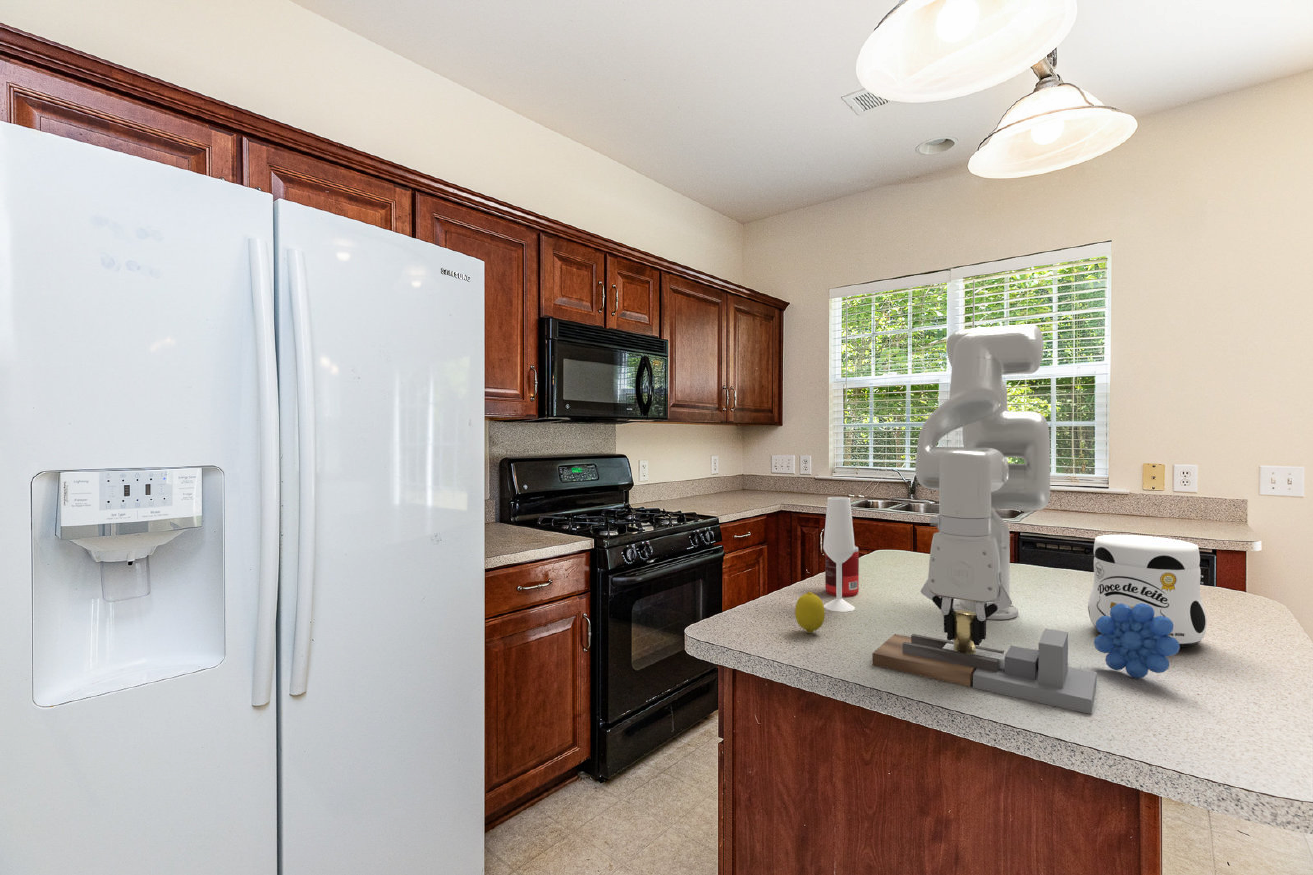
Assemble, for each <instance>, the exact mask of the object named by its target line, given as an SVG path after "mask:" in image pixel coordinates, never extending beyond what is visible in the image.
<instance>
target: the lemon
mask: <svg viewBox="0 0 1313 875" xmlns="http://www.w3.org/2000/svg"><path fill="white" fill-rule="evenodd" d="M824 605H825V604H824V602H823V601H822V599H821V598H820V597H819V596H818V595H817V594H814V593H813V592H812V591H807V593H804V594H802V595H800V597H798V599H797V601H796V603H795V608H794V609H795V610H794V614H795V620H796V623H797V624H798V625H799V627H800V628H801V629H803V630H805V631H806V632H807V633H808V634H812V633H814V631H816V630H818V629H820V628H821V627H822V626H823V624H824V622H825V616H826V615H825V613H826V611H825V610H826V609H825V608H824Z"/></svg>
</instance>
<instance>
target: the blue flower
mask: <svg viewBox="0 0 1313 875" xmlns="http://www.w3.org/2000/svg"><path fill="white" fill-rule="evenodd" d="M1154 614H1155V613H1154V610H1153V608H1152V607H1151V606H1150V605H1148V604H1144V603H1140V604H1137V605H1135V606H1134V607H1133V608H1132V610H1131V608H1130V607H1129V606H1128V605H1125V604H1121V603H1120V604H1116V605H1115V606H1113V607H1112V608H1111V610H1110V615H1111V617H1110V616H1102V617H1100V618H1099V619H1098V620H1097V621H1096V627H1095V629H1096V630H1097V631H1098V632H1099V633H1100V634H1098V636H1097V637H1095V638H1094V641H1093V644H1094V646H1093V647H1095V649H1096V650H1097V651H1099V652H1100V653H1102V654H1106V655H1105V659H1104V660H1105V664H1106V665H1107V667H1109V668H1110V669H1111V670H1114V671H1121V670H1123V669H1125V672H1126V674H1127V675H1129V676H1130V677H1131V678H1135V679H1142V678H1145V677H1146V676H1147V675H1148V674H1149V671H1150V672H1152V673H1156V674H1162V673H1165V672H1166V671H1168V669H1170V668H1169V667H1170V660H1169V658H1168V657H1173V656H1174V655H1176V654H1178V653H1179V652H1180V648H1181V647H1180V645H1179V642H1178V641H1177V640H1176V639H1175V638H1173V637H1170V636H1167V635H1168V634H1170V633H1171V632H1172V631H1173V627H1174V626H1173V623H1172V621H1171V620H1170V619H1169V618H1167V617H1164V616H1156V617H1154Z"/></svg>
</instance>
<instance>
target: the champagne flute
mask: <svg viewBox="0 0 1313 875" xmlns="http://www.w3.org/2000/svg"><path fill="white" fill-rule="evenodd" d="M851 504H852V503H851V498H850V497H847V496H845V497H844V496H830V497H827V503H826V513H825V524H824V525H825V526H824V535H823V545H822V546H823V552H824V554H825V553H826V554H827V555H828V556H829V557H830V558H831V560H832V561H834V562H835V563H836V596H835V597H836V598H835V599H832V600H831V601H829V602H827V603H825V604H823V605H824V609H825V610H829V611H832V612H833V611H834V612H839V613H840V612H841V613H842V612H843V613H844V612H845V613H846V612H847V613H848V612H852V611H854V610H855V609H856V607H855V606H854V605H852V604H851V603H849V602H847V601H846V600H844V599H843V597H842V563H844V562H845V561H846V560H848V559H849V558H850V557H851V556H852V554H853V553H854V551H855V546H856V545H855V534H854V526H853V524H854V523H853V513H852V506H851Z"/></svg>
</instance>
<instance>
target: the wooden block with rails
mask: <svg viewBox="0 0 1313 875" xmlns="http://www.w3.org/2000/svg"><path fill="white" fill-rule="evenodd" d="M947 643H949V644H954V640H947V639H943V638H938V637H931V636H927V635H921V634H917V633H912V634H911V635H910V636H907V635H902V634H897V633H894V634H893V635H892V636H890V637H889V638H888V639H886V640H885V641H884V643H882V644H881V645H880V646H879V647H878V648H876V650H873V652H872V653H871V654H872V658H871V659H872V660H871V661H872V666H874V667H875V666H876V667H880V668H884V669H888V670H893V671H897V672H902V673H905V674H906V673H907V674H911V675H915V676H920V677H925V678H928V679H934V680H937V681H942V682H946V683H949V684H950V683H951V684H955V685H959V686H964V687H968V688H970V687H971V686H973V674H974V672H975V671H976V669H977V668H978V669H982V670H987V671H992V672H998V660H995V659H990V658H985V657H980V656H975V655H969V654H964V653H959V652H954V651H949V650H944V649H942V648H943V647H944V646H945V645H946V644H947ZM976 649H981V650H986V651H991V652H997V653H1002V654H1005V651H1004V650H1001V649H996V648H991V647H985V646H980V645H979V646H978V645H976Z"/></svg>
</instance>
